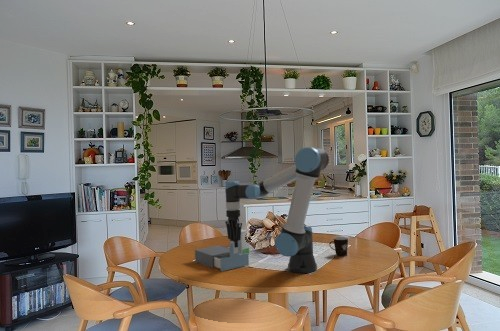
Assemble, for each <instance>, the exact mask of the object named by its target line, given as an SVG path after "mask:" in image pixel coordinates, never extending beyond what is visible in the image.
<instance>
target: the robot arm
mask: <svg viewBox="0 0 500 331" xmlns="http://www.w3.org/2000/svg"><path fill="white" fill-rule="evenodd" d="M329 162H330V157H329V154H328V153H327V151H326V150H324V149H323V148H320V147H313V146H308V147H306V146H305V147H303V148H300V149H299V151H297V153H296V154H295V156H294V164H293V165H291V166H289V167H287V168H285V169H283V170H281V171H280V172H278V173H276V174H274V175H272V176H270V177H268V178H266V179H264V180H263V181H261V182H259V183H251V184H240V181H238V180H231V181H225V189H224V190H225V209H226V214H225V216H226V217H227V220H226V221H224V222H225V226H226V231H227V232H226V233H227V239H228V240H229V242H230V243H233V254H235V253H238V241H239V240H240V238H241V230H242V227H243V223H242V222H240V217H241V207H240V206H241V205H240V204H241V203H240V199H241V200H242V199H243V200H257V199H258V198H263V197H266V196H268V195H269V194H270V193H272V192H274V191H276V190H279V189H280V188H283V187H284V186H286V185H288V184H291V183H292V182H295V185H294V189H293V192H292V193H293V194H292V197H291V202H290V206H289V210H288V214H287V218H286V222H285V223H283V224H282V225H281V230H280V233H279V234H277V236H276V238H275V239H274V245H275V249H276V250H277V252H278V253H279V254H280V255H281V256H283V257H288V258H289V259H288V260H289V261H288V263H287V270H288V271H289V272H292V273H296V274H297V273H298V274H306V273H308V274H309V273H313V272H316V271H317V270H318V265H317V262H316V259H315V256H314V244H313V228H312V226H311V225H305V221H306V219H307V218H306V217H307V213H308V209H309V205H310V201H311V197H312V193H313V191H314V186H315V182H316V180H318V179H319V178H320V176H321V171H324V169H326V168H327V167H328V166H329Z"/></svg>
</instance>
